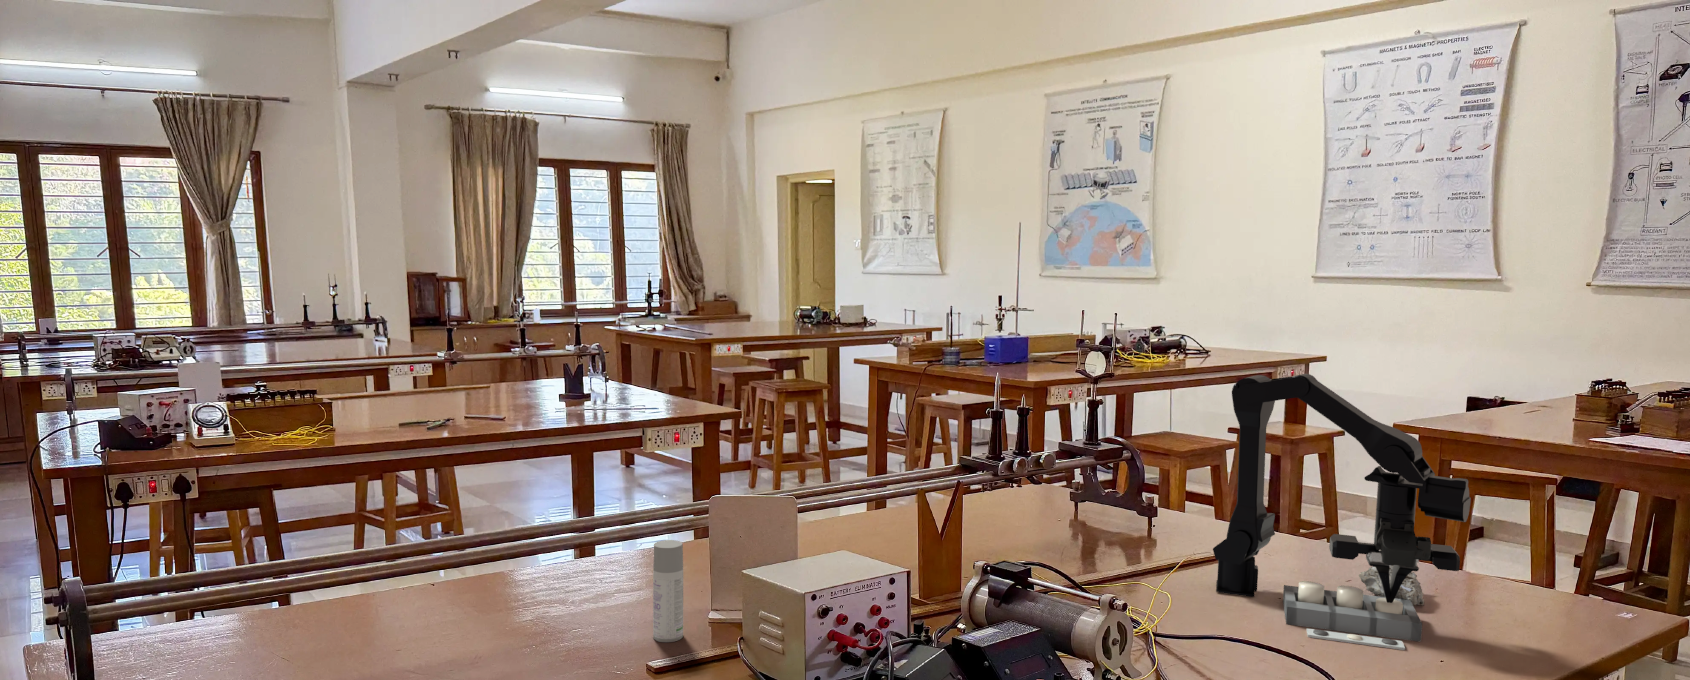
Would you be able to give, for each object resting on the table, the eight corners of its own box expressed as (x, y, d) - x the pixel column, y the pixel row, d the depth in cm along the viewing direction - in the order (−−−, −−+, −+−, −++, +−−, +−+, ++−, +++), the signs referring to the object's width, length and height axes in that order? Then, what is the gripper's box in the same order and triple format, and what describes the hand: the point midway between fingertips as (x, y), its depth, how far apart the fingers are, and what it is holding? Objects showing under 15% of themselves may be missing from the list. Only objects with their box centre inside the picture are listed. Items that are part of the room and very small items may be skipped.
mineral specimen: (1417, 595, 191) (1437, 612, 179) (1353, 591, 194) (1369, 607, 182) (1417, 563, 191) (1437, 578, 179) (1354, 559, 194) (1370, 574, 182)
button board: (1286, 623, 173) (1287, 606, 173) (1282, 601, 184) (1283, 584, 184) (1420, 641, 166) (1422, 623, 166) (1408, 617, 177) (1410, 600, 177)
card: (1307, 636, 167) (1308, 633, 167) (1306, 630, 170) (1306, 627, 170) (1404, 650, 162) (1405, 646, 162) (1401, 643, 165) (1402, 639, 165)
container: (647, 639, 161) (647, 546, 160) (662, 629, 166) (662, 538, 164) (673, 644, 160) (674, 549, 158) (688, 633, 164) (688, 541, 163)
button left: (1298, 607, 176) (1299, 586, 176) (1296, 600, 180) (1298, 579, 179) (1324, 610, 174) (1325, 589, 174) (1322, 603, 178) (1323, 582, 178)
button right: (1376, 625, 172) (1377, 604, 171) (1373, 617, 176) (1374, 596, 175) (1403, 628, 170) (1404, 607, 170) (1399, 620, 174) (1401, 599, 174)
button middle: (1337, 612, 174) (1338, 591, 173) (1334, 604, 177) (1336, 584, 177) (1363, 615, 172) (1364, 594, 172) (1360, 607, 176) (1361, 587, 176)
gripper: (1338, 516, 167) (1332, 609, 168) (1470, 529, 160) (1463, 626, 162) (1331, 500, 177) (1326, 588, 179) (1455, 512, 171) (1449, 603, 172)
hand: (1389, 601), depth 173 cm, fingers closed, pressing on button right
